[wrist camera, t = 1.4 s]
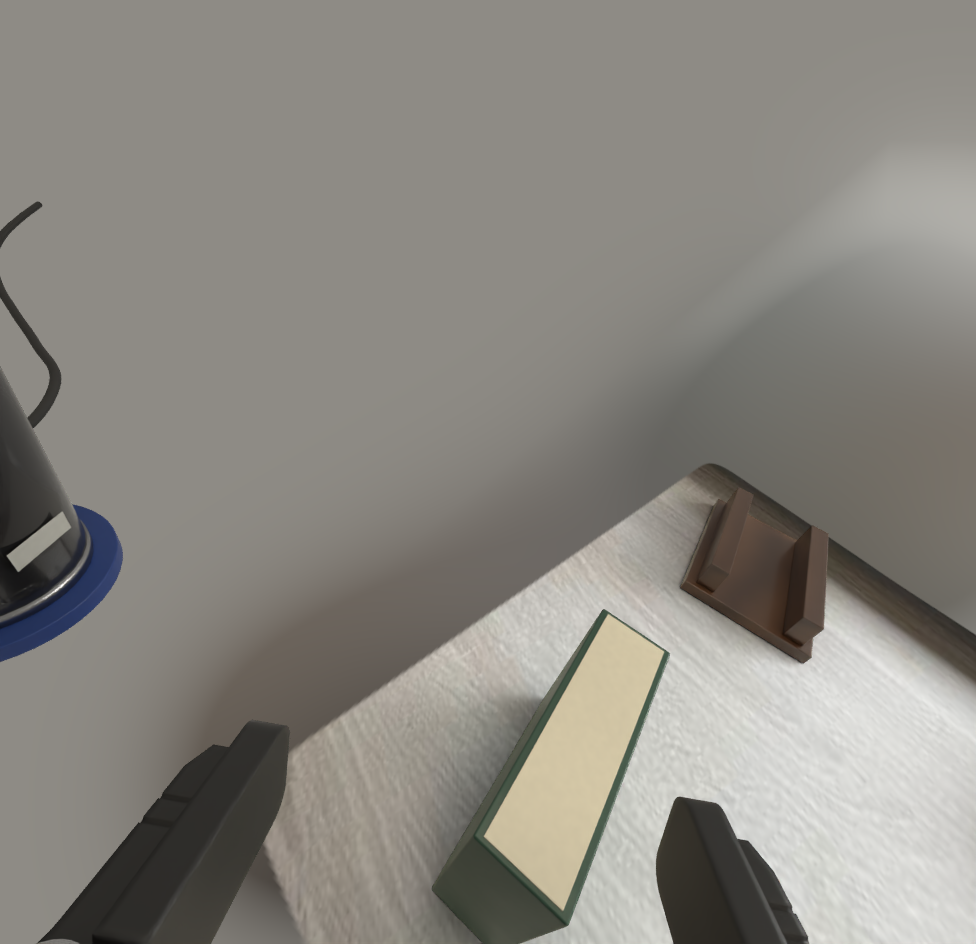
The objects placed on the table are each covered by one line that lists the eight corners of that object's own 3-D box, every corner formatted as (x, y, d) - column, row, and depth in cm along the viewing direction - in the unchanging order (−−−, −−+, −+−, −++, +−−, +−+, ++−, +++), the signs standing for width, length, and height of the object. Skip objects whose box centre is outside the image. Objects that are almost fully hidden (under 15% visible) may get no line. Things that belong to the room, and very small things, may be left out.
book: (430, 889, 21) (472, 835, 14) (544, 697, 28) (604, 607, 22) (493, 954, 19) (568, 927, 13) (593, 736, 27) (671, 652, 21)
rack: (679, 587, 38) (700, 561, 35) (713, 505, 48) (732, 480, 45) (803, 664, 34) (835, 640, 32) (812, 558, 44) (837, 534, 42)
